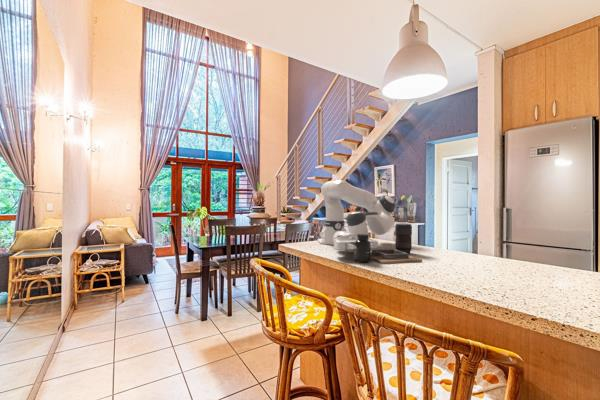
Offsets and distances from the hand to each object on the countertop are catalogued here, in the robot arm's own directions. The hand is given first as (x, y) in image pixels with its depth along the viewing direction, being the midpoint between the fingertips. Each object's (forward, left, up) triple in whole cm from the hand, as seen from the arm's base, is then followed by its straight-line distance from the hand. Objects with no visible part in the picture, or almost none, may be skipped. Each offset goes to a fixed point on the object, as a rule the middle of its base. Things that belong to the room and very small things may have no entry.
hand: (363, 247), depth 124 cm
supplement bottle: (-1, 0, -7) cm, 7 cm away
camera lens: (-15, +30, -7) cm, 34 cm away
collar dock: (-5, +16, -7) cm, 18 cm away
